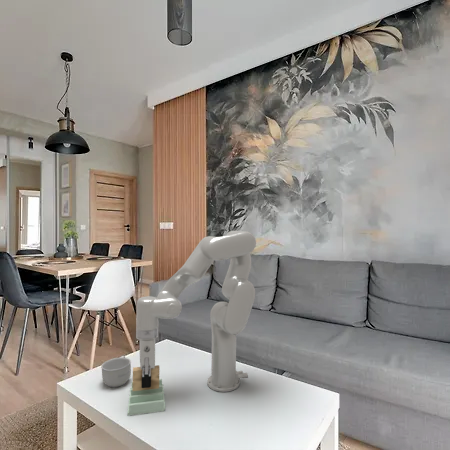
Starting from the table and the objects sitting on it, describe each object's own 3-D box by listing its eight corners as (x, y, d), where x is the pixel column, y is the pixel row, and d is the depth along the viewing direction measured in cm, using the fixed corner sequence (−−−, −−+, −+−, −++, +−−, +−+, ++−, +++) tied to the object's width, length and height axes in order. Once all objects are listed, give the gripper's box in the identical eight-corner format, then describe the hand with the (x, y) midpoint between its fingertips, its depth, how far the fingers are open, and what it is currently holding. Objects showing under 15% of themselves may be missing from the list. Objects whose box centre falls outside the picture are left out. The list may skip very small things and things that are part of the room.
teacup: (121, 392, 114) (121, 370, 114) (95, 388, 116) (95, 367, 116) (139, 374, 128) (139, 354, 128) (115, 371, 130) (115, 352, 130)
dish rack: (163, 386, 118) (163, 378, 118) (165, 410, 103) (165, 401, 103) (130, 390, 115) (130, 381, 115) (127, 415, 100) (127, 405, 100)
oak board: (158, 384, 111) (159, 365, 111) (159, 388, 109) (159, 368, 109) (132, 387, 109) (133, 367, 109) (132, 391, 107) (132, 370, 107)
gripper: (158, 340, 102) (157, 396, 102) (157, 324, 118) (156, 373, 118) (135, 341, 100) (134, 398, 100) (137, 325, 116) (136, 375, 116)
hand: (146, 384), depth 109 cm, fingers closed on oak board, 2 cm apart
